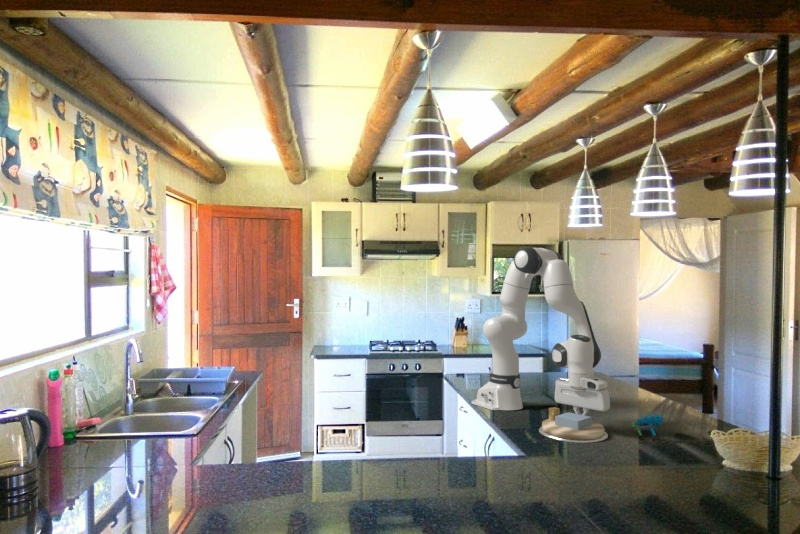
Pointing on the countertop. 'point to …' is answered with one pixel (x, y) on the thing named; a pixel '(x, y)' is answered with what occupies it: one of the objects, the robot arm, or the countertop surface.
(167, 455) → the countertop surface
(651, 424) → the blue toy animal
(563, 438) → the base
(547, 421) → the turntable
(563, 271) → the robot arm
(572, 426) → the cover
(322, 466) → the countertop surface
